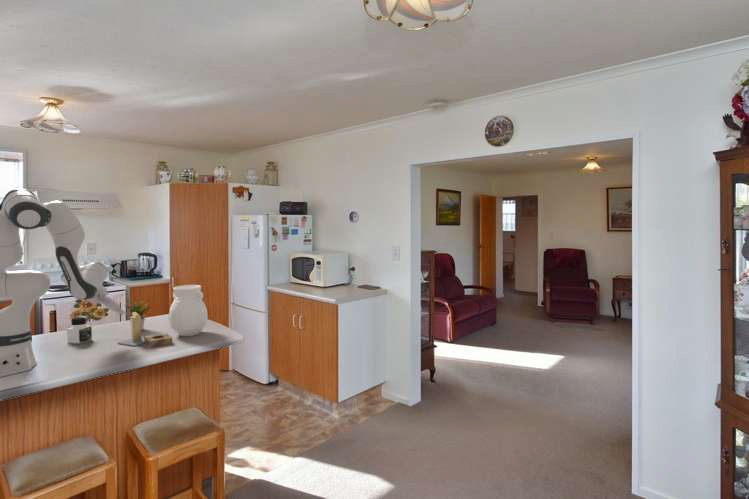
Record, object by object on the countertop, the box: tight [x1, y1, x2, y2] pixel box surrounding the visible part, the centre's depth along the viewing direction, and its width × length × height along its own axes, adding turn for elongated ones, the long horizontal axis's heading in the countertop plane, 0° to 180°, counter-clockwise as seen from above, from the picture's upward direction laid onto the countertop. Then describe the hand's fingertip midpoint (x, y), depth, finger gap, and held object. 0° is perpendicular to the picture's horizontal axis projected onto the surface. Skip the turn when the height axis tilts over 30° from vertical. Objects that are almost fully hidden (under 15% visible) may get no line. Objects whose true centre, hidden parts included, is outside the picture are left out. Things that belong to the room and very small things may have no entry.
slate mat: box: [117, 336, 146, 347], centre depth 208 cm, size 11×11×1 cm
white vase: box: [168, 284, 209, 337], centre depth 222 cm, size 19×18×25 cm
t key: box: [130, 312, 142, 342], centre depth 207 cm, size 4×8×14 cm, turn 40°
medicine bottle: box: [66, 315, 93, 345], centre depth 208 cm, size 7×7×12 cm
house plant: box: [124, 299, 151, 331], centre depth 228 cm, size 14×14×16 cm
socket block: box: [143, 332, 173, 348], centre depth 206 cm, size 10×10×3 cm
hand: (121, 312), depth 204 cm, fingers open, 8 cm apart
